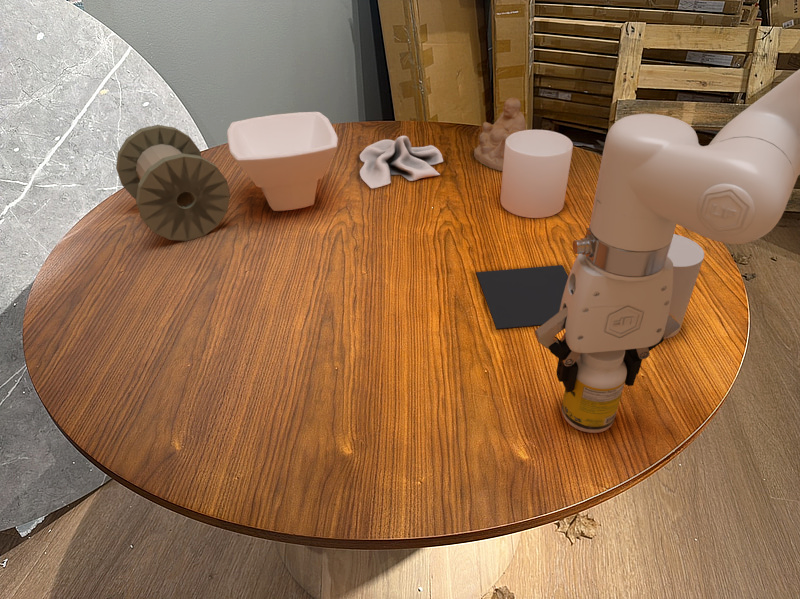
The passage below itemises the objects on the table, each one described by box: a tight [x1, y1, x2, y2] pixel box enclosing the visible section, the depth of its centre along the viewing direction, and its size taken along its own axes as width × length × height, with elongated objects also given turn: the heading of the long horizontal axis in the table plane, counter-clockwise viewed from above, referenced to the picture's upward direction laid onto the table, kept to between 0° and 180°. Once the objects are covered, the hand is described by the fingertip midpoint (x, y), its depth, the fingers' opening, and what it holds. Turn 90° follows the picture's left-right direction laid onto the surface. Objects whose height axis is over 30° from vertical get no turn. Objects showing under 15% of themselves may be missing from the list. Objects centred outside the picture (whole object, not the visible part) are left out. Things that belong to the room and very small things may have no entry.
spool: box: [115, 124, 231, 242], centre depth 110 cm, size 16×15×15 cm
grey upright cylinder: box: [664, 233, 705, 340], centre depth 84 cm, size 8×8×12 cm
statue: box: [473, 97, 527, 172], centre depth 129 cm, size 12×14×10 cm
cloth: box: [359, 135, 444, 190], centre depth 128 cm, size 22×19×6 cm
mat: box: [475, 264, 569, 330], centre depth 93 cm, size 14×14×1 cm
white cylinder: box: [500, 129, 574, 219], centre depth 112 cm, size 12×12×12 cm
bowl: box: [226, 111, 339, 212], centre depth 114 cm, size 19×19×14 cm
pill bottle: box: [561, 350, 627, 434], centre depth 71 cm, size 6×6×11 cm
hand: (595, 379), depth 70 cm, fingers closed on pill bottle, 6 cm apart
